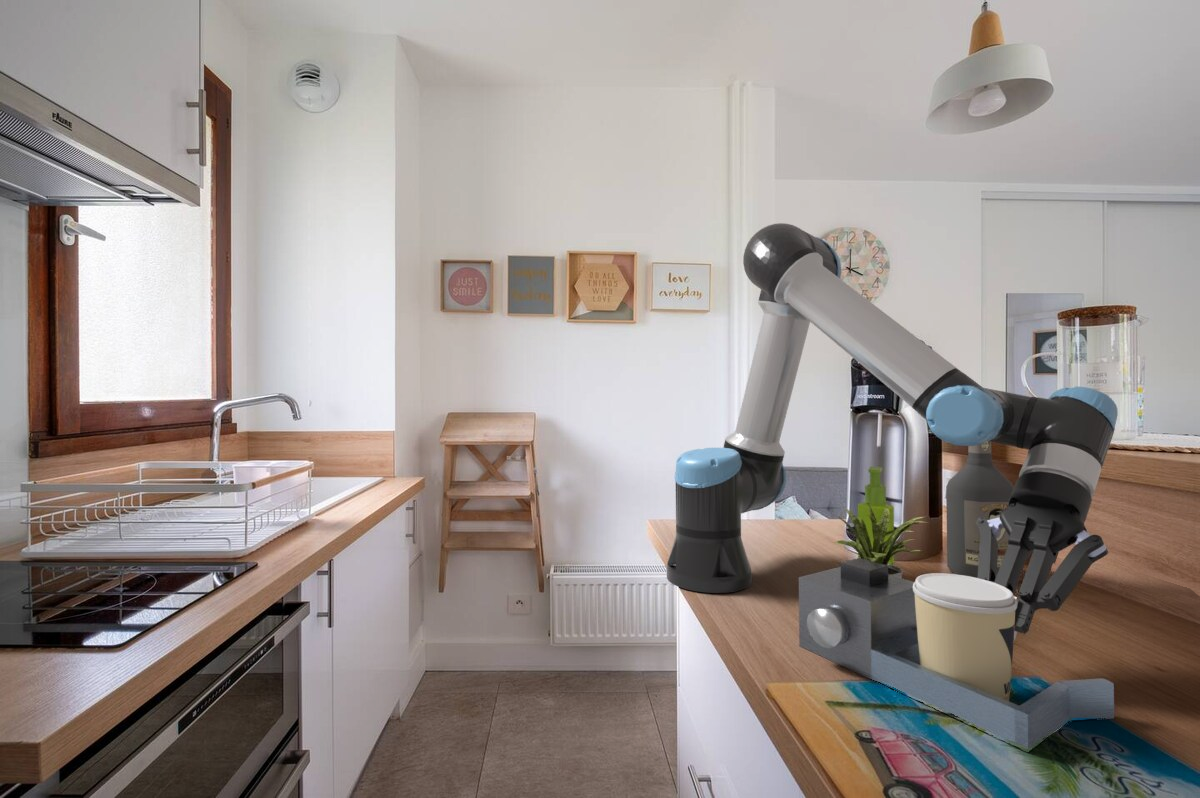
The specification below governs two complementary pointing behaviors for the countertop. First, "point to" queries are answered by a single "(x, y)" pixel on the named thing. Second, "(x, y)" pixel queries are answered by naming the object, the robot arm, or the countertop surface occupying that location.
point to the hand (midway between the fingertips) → (995, 651)
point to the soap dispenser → (875, 506)
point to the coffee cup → (966, 630)
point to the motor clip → (891, 656)
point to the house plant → (879, 540)
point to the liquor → (974, 509)
